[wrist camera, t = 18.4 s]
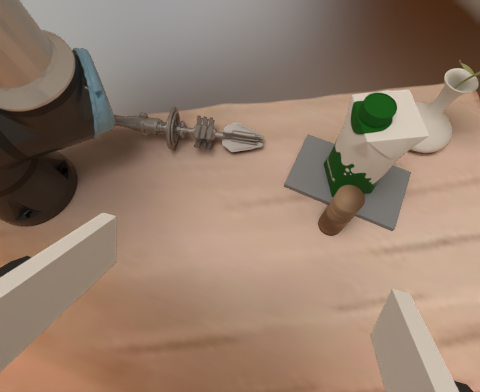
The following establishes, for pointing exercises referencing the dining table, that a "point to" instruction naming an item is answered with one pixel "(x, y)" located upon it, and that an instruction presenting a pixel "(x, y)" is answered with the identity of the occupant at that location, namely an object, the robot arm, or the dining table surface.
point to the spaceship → (194, 131)
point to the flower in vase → (434, 113)
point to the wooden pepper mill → (341, 209)
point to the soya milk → (373, 138)
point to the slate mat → (317, 187)
